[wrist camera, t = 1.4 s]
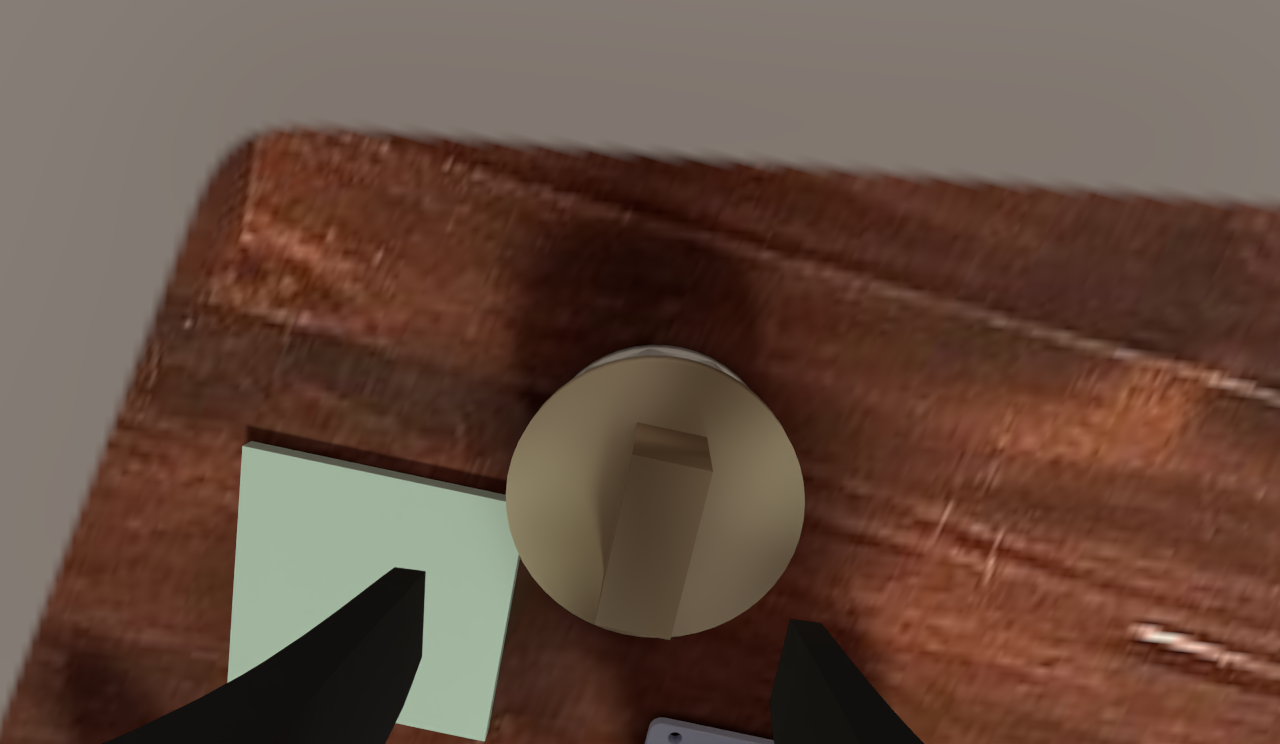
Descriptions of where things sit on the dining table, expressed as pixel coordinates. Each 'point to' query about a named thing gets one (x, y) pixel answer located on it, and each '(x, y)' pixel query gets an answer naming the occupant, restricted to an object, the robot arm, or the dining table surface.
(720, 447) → the lid
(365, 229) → the dining table surface
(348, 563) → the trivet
